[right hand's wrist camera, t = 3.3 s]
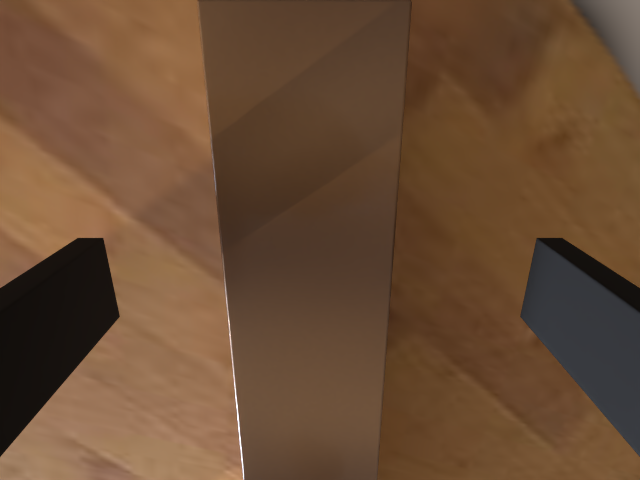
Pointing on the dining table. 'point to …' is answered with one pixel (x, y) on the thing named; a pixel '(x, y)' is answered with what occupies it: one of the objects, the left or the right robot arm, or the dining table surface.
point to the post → (307, 221)
